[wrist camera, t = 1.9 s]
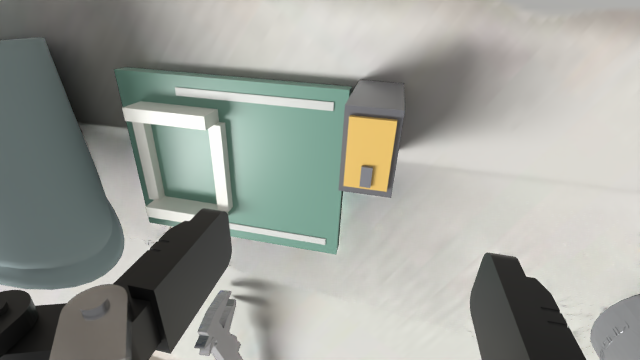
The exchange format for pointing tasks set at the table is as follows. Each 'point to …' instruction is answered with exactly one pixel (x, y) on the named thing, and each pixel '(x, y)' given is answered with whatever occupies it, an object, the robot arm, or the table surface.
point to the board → (239, 152)
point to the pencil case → (48, 180)
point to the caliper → (219, 330)
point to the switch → (371, 137)
